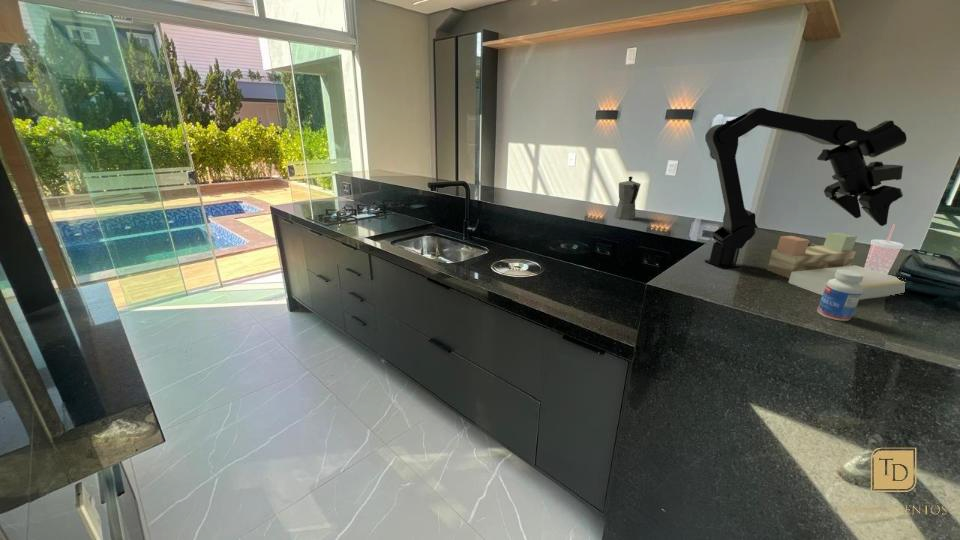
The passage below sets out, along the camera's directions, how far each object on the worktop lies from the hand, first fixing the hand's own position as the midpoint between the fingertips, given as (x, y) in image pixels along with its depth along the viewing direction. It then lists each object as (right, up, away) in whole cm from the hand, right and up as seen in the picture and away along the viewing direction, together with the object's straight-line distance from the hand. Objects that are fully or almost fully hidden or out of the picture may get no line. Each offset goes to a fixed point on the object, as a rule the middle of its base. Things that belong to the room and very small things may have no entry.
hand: (870, 221), depth 96 cm
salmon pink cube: (-18, -8, +4) cm, 20 cm away
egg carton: (+4, -8, +24) cm, 25 cm away
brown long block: (-10, -13, +8) cm, 18 cm away
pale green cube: (-1, -7, +8) cm, 10 cm away
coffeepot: (-36, +10, +70) cm, 79 cm away
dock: (-10, -17, -3) cm, 20 cm away
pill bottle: (-26, -22, -18) cm, 39 cm away
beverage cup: (+7, -14, +6) cm, 17 cm away
